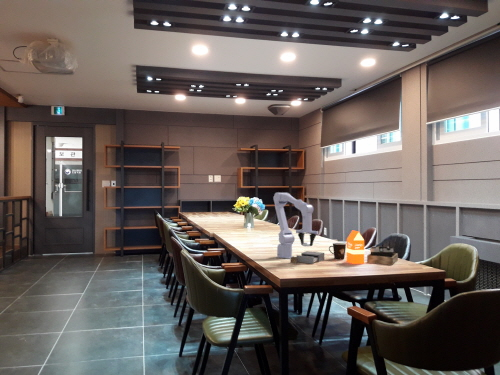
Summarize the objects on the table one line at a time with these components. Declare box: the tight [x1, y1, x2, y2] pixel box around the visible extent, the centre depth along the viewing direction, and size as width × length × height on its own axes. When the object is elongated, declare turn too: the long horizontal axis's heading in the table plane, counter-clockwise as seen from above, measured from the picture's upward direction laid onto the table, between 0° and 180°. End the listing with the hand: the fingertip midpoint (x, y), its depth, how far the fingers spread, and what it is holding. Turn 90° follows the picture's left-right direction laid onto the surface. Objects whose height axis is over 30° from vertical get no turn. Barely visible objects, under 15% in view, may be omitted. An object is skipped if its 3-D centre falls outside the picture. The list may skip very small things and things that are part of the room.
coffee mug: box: [328, 242, 347, 261], centre depth 252 cm, size 12×9×10 cm
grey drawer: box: [296, 254, 318, 264], centre depth 239 cm, size 11×10×4 cm
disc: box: [301, 242, 311, 247], centre depth 239 cm, size 6×6×2 cm
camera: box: [370, 245, 395, 257], centre depth 244 cm, size 15×11×10 cm
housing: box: [300, 250, 325, 263], centre depth 247 cm, size 12×10×4 cm
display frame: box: [366, 252, 399, 266], centre depth 244 cm, size 15×19×4 cm
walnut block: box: [289, 256, 298, 264], centre depth 235 cm, size 3×3×4 cm
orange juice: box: [346, 229, 365, 265], centre depth 239 cm, size 8×9×20 cm
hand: (306, 245), depth 239 cm, fingers closed on disc, 5 cm apart
